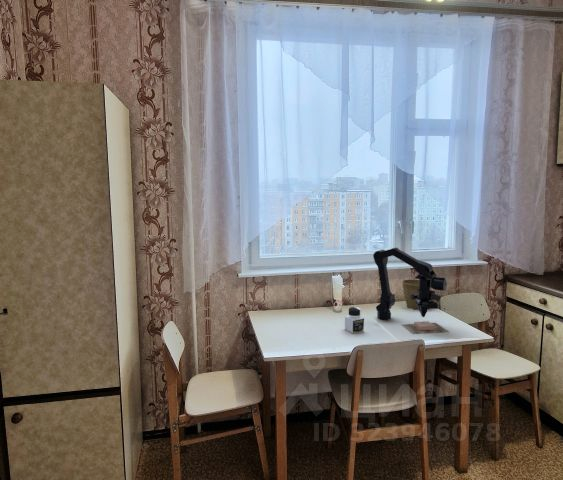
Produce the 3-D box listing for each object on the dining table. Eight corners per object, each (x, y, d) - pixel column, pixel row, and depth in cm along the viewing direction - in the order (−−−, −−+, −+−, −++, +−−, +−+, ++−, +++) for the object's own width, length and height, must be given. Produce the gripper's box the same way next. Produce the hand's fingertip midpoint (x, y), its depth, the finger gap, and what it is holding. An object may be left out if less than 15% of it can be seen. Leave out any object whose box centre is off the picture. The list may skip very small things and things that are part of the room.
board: (412, 336, 202) (412, 334, 202) (400, 326, 216) (400, 324, 216) (449, 334, 205) (450, 331, 205) (435, 324, 219) (435, 322, 219)
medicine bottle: (352, 333, 207) (353, 310, 205) (344, 329, 213) (344, 307, 211) (363, 331, 210) (364, 308, 208) (355, 327, 216) (355, 305, 214)
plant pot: (410, 312, 241) (411, 285, 238) (396, 304, 255) (397, 280, 253) (432, 309, 245) (433, 284, 242) (417, 302, 259) (418, 278, 257)
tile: (413, 326, 214) (420, 330, 207) (414, 322, 213) (420, 326, 207) (428, 325, 215) (434, 329, 208) (428, 321, 215) (435, 325, 208)
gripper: (449, 291, 202) (447, 322, 204) (430, 282, 220) (428, 310, 222) (428, 292, 200) (426, 323, 202) (410, 283, 218) (409, 311, 220)
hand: (423, 316), depth 212 cm, fingers closed
